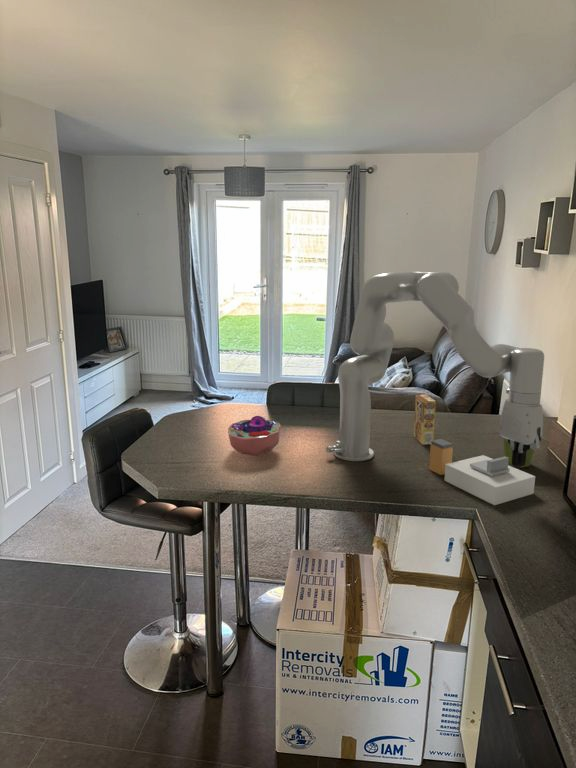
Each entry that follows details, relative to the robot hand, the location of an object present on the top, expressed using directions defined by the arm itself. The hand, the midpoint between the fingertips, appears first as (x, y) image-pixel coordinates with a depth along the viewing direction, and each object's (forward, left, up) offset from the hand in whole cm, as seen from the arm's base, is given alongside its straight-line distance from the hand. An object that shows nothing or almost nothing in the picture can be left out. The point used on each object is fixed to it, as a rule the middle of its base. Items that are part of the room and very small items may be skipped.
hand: (518, 465), depth 147 cm
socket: (0, +9, -10) cm, 13 cm away
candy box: (+10, +47, -10) cm, 49 cm away
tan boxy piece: (-4, +24, -10) cm, 26 cm away
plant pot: (+21, +17, -10) cm, 29 cm away
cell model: (-46, +64, -10) cm, 79 cm away
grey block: (0, +9, -4) cm, 10 cm away
